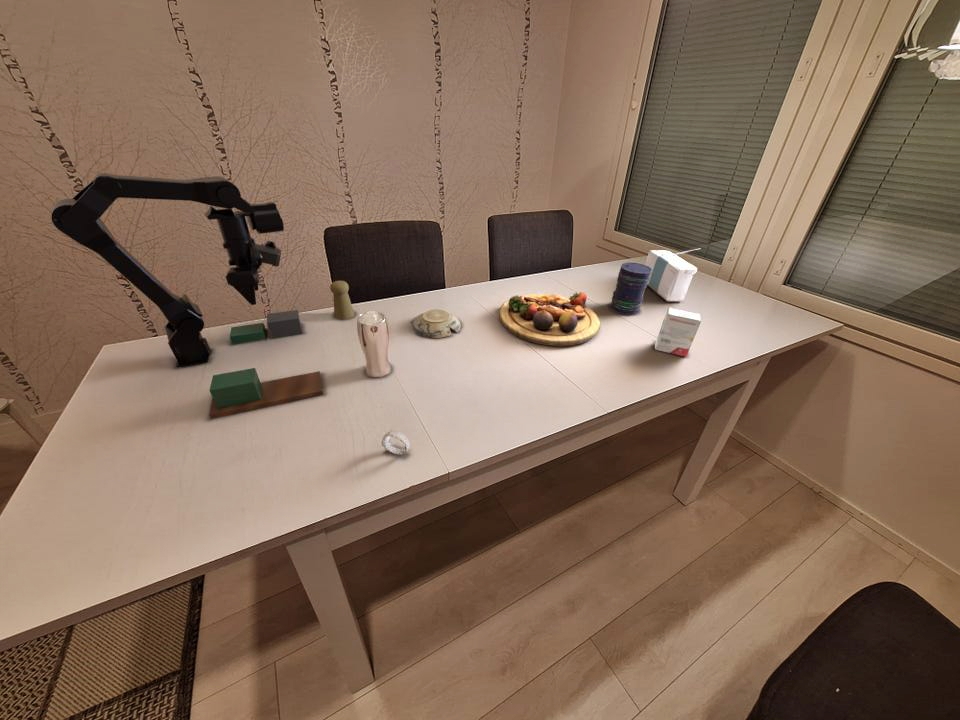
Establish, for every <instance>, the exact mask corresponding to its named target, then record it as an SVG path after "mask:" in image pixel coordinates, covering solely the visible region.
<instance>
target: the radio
mask: <svg viewBox="0 0 960 720" xmlns="http://www.w3.org/2000/svg"><path fill="white" fill-rule="evenodd" d="M696 250H702V248H701V247H698V248H694V249H690V250H685V251H680V252H676V253H673V252H672V251H670V250H663V249H662V250H661V249H659V250H657V249H655V250H654V249H653V250H651V249H650V250H649V251H648V253H647V257H646V259H645V263H644V265H646V266H648V267H650V268H651V269H652V271H651V274H650V279H649V282H648V285H647V287H649V288H651V290H653V291H654V292H655V293H657V295H659V296H660V297H661V298H663V300H665V301H666V302H667V303H668V302H683V301H684V300H685V298H686V294H687V292H688V290H689V287H690V284H691V282H692V279H693V277H694V275H695V274H696V273H697V271H698V268H697V267H696V266H694V265H693V264H691V263H689V262H688V261H686V260H684V259H683V258H681V257H679V256H678V255H681V254H686V253H689V252H693V251H696Z"/></svg>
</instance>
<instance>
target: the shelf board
mask: <svg viewBox="0 0 960 720" xmlns="http://www.w3.org/2000/svg"><path fill="white" fill-rule="evenodd" d="M260 382H261V381H260ZM322 382H323V381H322V376H321V372H320V370H318V371H313V372H309V373H302V374H297V375H293V376H292V375H291V376H287V377H282V378H277V379H272V380H266V381H262V382H261V385H262V386H261V400H258V401H253V402H248V403H243V404H239V405H234V406H229V407H224V408H219V409H218V408H217V405H216V403H215V401H214V399H213V397H212V399H211V403H210V408H209V412H208V416H209V418H210V419H216V418H221V417H225V416H230V415H235V414H239V413H244V412H249V411H253V410H258V409H263V408H267V407H272V406H277V405H281V404H285V403H290V402H295V401H300V400H304V399H309V398H314V397H318V396H323V395H324V387H323V383H322Z"/></svg>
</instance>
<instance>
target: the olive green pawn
mask: <svg viewBox="0 0 960 720" xmlns="http://www.w3.org/2000/svg"><path fill="white" fill-rule="evenodd" d="M329 289H330V291H331V294H332V296H333V297H332V298H333V316H334V318H335V319H336V320H341V321H343V320H344V321H345V320H350V319H352V318H353V317H354V316H355V312H354V308H353V305H352V302H351V298H350V296H349V293H348V292H349V289H350V287H349V283H347V281H345V280H335V281H333V282H331V284H330V286H329Z"/></svg>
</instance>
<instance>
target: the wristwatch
mask: <svg viewBox="0 0 960 720" xmlns="http://www.w3.org/2000/svg"><path fill="white" fill-rule="evenodd" d="M392 437H393V438H395V439H397V440H399V441H400V442H402V443H403V444H404V448H397V447H395V446H394V445H393V444H391V442H390V439H391V438H392ZM381 446H382V447H383V448H384V449H386V450H387V451H388V452H390V453H391V454H392V455H393V454H394V455H396V456H403V455H406V454H407V453H408V451H409V449H410V447H411V442H410V439H409V437H408V436H406V435H405V434H403V433H402V432H400V431H398V430H389V431H387V432H386V433H385V434H384V435H383V437H382V440H381Z"/></svg>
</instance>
